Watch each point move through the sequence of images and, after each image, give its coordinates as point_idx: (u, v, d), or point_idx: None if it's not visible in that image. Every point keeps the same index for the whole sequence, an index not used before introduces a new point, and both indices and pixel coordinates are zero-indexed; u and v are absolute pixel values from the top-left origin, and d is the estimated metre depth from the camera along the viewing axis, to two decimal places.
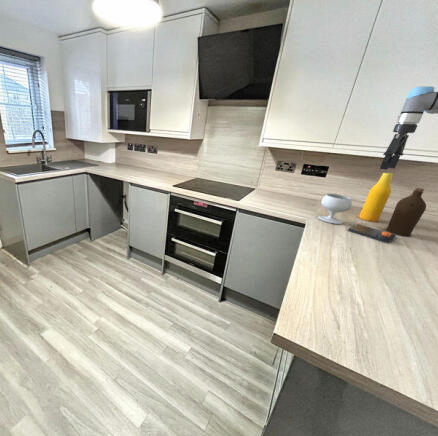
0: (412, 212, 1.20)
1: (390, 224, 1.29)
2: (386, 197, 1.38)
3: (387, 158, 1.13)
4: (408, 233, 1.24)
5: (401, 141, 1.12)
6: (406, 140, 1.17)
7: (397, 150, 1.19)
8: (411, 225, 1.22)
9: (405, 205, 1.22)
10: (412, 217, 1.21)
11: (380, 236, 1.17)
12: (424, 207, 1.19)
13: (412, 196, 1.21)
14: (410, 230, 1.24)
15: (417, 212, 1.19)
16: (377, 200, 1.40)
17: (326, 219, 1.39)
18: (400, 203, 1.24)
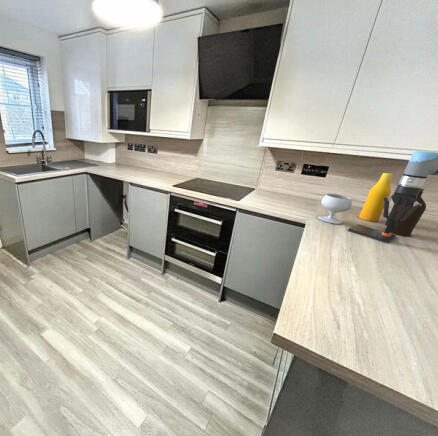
0: None
1: None
2: None
3: (396, 224, 1.13)
4: (408, 233, 1.24)
5: None
6: None
7: (393, 213, 1.13)
8: (411, 225, 1.22)
9: None
10: (412, 217, 1.21)
11: (380, 236, 1.17)
12: (424, 207, 1.19)
13: None
14: (410, 230, 1.24)
15: (417, 212, 1.19)
16: (377, 200, 1.40)
17: (326, 219, 1.39)
18: None
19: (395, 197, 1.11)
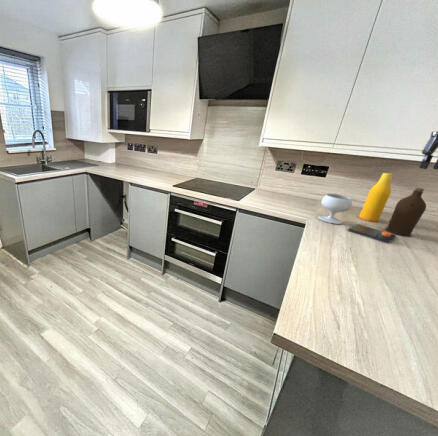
0: (412, 212, 1.20)
1: (390, 224, 1.29)
2: (386, 197, 1.38)
3: None
4: (408, 233, 1.24)
5: None
6: None
7: None
8: (411, 225, 1.22)
9: (405, 205, 1.22)
10: (412, 217, 1.21)
11: (380, 236, 1.17)
12: (424, 207, 1.19)
13: (412, 196, 1.21)
14: (410, 230, 1.24)
15: (417, 212, 1.19)
16: (377, 200, 1.40)
17: (326, 219, 1.39)
18: (400, 203, 1.24)
19: None
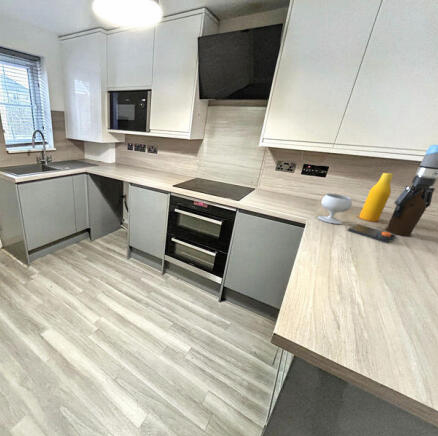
0: (412, 212, 1.20)
1: (390, 224, 1.29)
2: (386, 197, 1.38)
3: None
4: (408, 233, 1.24)
5: None
6: None
7: None
8: (411, 225, 1.22)
9: (405, 205, 1.22)
10: (412, 217, 1.21)
11: (380, 236, 1.17)
12: (424, 207, 1.19)
13: None
14: (410, 230, 1.24)
15: (417, 212, 1.19)
16: (377, 200, 1.40)
17: (326, 219, 1.39)
18: None
19: (417, 188, 1.19)
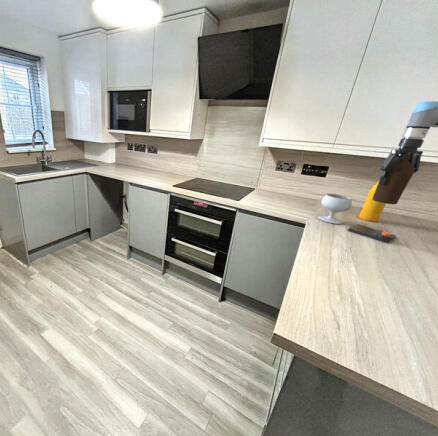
0: (399, 177, 1.12)
1: (376, 192, 1.20)
2: None
3: None
4: (395, 201, 1.16)
5: None
6: None
7: None
8: (398, 192, 1.14)
9: (391, 169, 1.13)
10: (398, 182, 1.12)
11: (380, 236, 1.17)
12: (411, 171, 1.10)
13: None
14: (397, 197, 1.15)
15: (404, 177, 1.11)
16: None
17: (326, 219, 1.39)
18: None
19: (404, 151, 1.10)
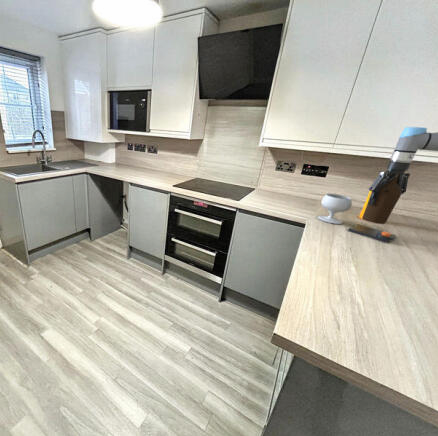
0: (387, 198, 1.15)
1: (366, 212, 1.24)
2: None
3: None
4: (383, 221, 1.19)
5: None
6: (379, 176, 1.16)
7: None
8: (386, 212, 1.18)
9: (379, 191, 1.17)
10: (386, 203, 1.16)
11: (380, 236, 1.17)
12: (399, 193, 1.14)
13: None
14: (385, 217, 1.19)
15: (392, 198, 1.15)
16: None
17: (326, 219, 1.39)
18: None
19: (392, 174, 1.14)
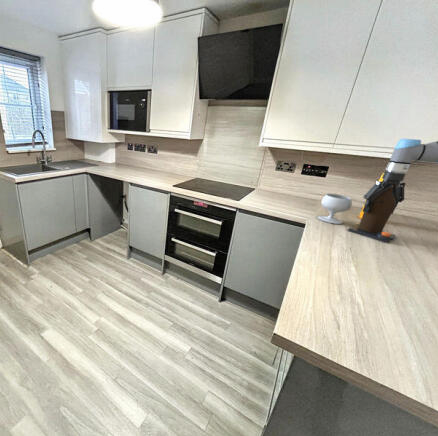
0: (382, 209, 1.17)
1: (361, 221, 1.26)
2: None
3: None
4: (379, 230, 1.21)
5: None
6: None
7: None
8: (381, 222, 1.20)
9: (375, 201, 1.19)
10: (382, 213, 1.18)
11: (380, 236, 1.17)
12: (394, 203, 1.16)
13: (382, 192, 1.18)
14: (381, 227, 1.21)
15: (387, 209, 1.17)
16: None
17: (326, 219, 1.39)
18: None
19: (387, 184, 1.16)
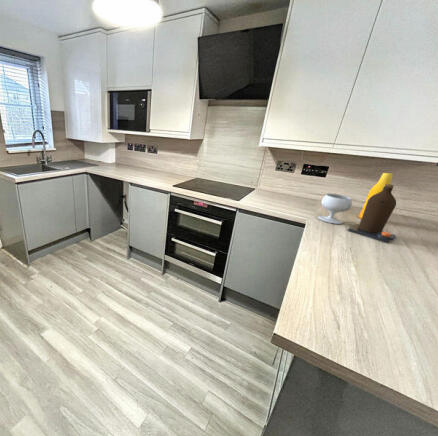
0: (382, 209, 1.17)
1: (361, 221, 1.26)
2: None
3: None
4: (379, 230, 1.21)
5: None
6: None
7: None
8: (381, 222, 1.20)
9: (375, 201, 1.19)
10: (382, 213, 1.18)
11: (380, 236, 1.17)
12: (394, 203, 1.16)
13: (382, 192, 1.18)
14: (381, 227, 1.21)
15: (387, 209, 1.17)
16: None
17: (326, 219, 1.39)
18: (371, 200, 1.21)
19: None
